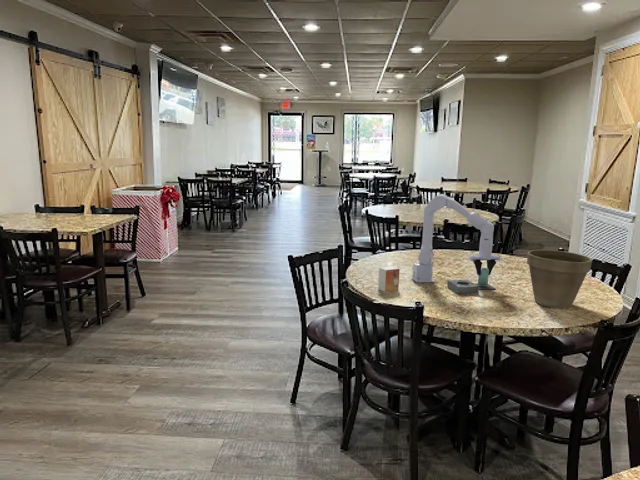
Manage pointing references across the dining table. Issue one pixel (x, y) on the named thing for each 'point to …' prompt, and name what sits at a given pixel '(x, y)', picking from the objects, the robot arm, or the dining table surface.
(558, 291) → the plant pot
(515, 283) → the dining table surface
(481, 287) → the mat
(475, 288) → the housing
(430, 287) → the dining table surface
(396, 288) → the small box
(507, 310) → the dining table surface
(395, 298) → the dining table surface
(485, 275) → the teal and grey cylinder
